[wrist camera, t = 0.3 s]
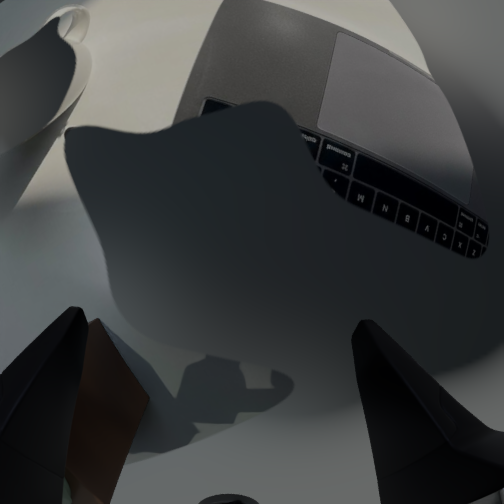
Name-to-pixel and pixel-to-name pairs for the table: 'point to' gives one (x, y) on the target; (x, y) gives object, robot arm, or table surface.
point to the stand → (102, 420)
